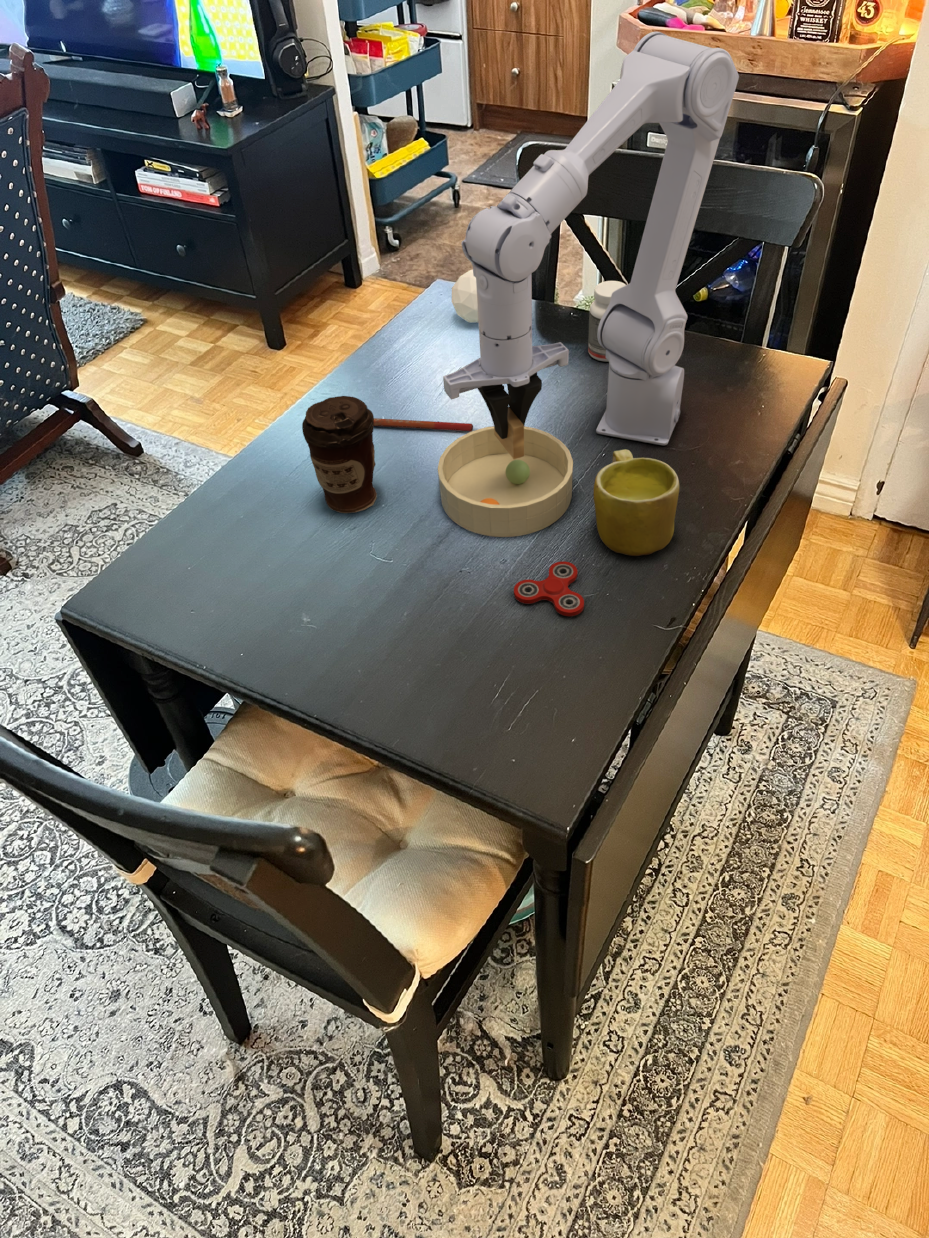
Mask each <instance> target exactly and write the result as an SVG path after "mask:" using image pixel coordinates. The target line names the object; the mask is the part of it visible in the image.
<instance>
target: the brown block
mask: <svg viewBox="0 0 929 1238" xmlns="http://www.w3.org/2000/svg"><path fill="white" fill-rule="evenodd" d="M507 421H508V435H507V438H505V439H501V438H500V436H499V435H498V434H497V433H496V431H495V428H494V435H495V436H496V437H497V439H498V440H499V441H500V442H501V444H502V445H503V446H504V448H505V449H506V450H507V452H508V453H509V454H510V455H511V457H512V458H513V459H517V458H520V457H523V456H524V426H525V425H523V424H522V422H521V421H520V420H519V419H518V417H517V416H516V415H515V414H514V413H513V411H512V410H511V409H510V408H509V406H508V415H507Z"/></svg>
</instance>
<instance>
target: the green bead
mask: <svg viewBox="0 0 929 1238" xmlns="http://www.w3.org/2000/svg"><path fill="white" fill-rule="evenodd" d="M529 475H530V469H529V466H528V465H527V463H526V462H524V461H522V460H513V461H511V462H510V463H509V464H508V465H507V467H506V477H507V479H508V480H509V481H510V482H511V483H513V484H522V483H524V482H525V481H526V480H527V479H528V478H529Z"/></svg>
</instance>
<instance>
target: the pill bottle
mask: <svg viewBox="0 0 929 1238" xmlns="http://www.w3.org/2000/svg"><path fill="white" fill-rule="evenodd" d="M626 285H627V284H626V283H624V282H622V281H618V280H606V281H602V282H599V283H597V284H596V285H595V287H594V289H593V298H594V300H593V301H592V302H591V304H590V306H589V316H588V317H589V319H588V340H587V341H588V342H587V343H588V344H587V353H588V354H589V356H590V357H591V358H593V359H594V360H596V361H600V362H608V363H609V361H608V359H606V349H605V348H603V347H602V346H601V345H600V344H599V342H598V338H597V331H598V326H599V323H600V320H601V318H602V316H603V314H604V313H605V311H606V310H607V308H608V305H609V303H610V299H611V295H612V293H613V292H614V291H616V290H617V289H619V288H621V287H624V286H626Z"/></svg>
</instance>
